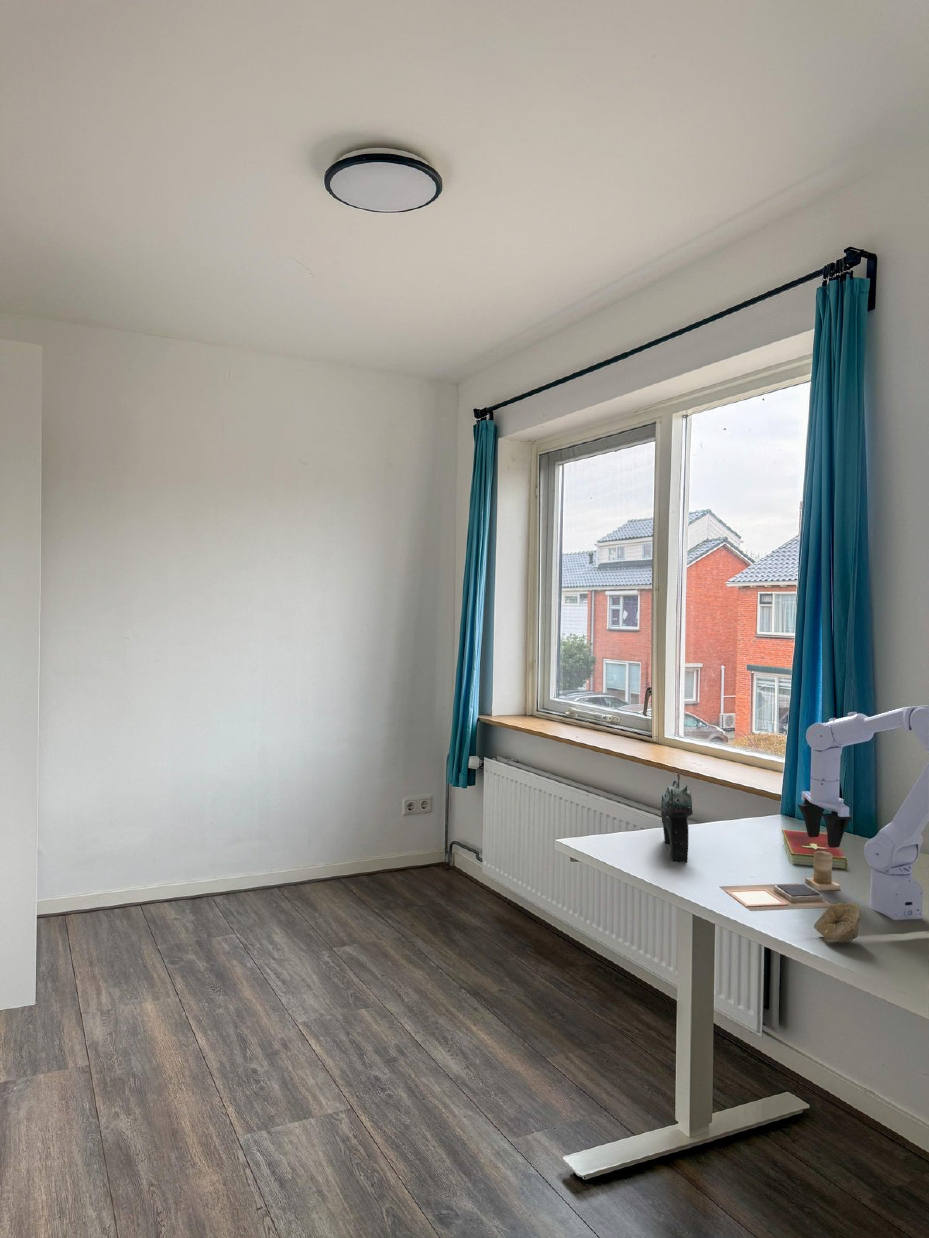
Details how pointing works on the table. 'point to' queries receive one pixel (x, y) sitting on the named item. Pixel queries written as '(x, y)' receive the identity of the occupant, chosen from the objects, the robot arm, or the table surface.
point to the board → (790, 904)
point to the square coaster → (756, 897)
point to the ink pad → (798, 893)
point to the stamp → (822, 872)
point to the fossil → (839, 923)
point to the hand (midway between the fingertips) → (823, 841)
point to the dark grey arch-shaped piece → (676, 820)
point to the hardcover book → (810, 848)
